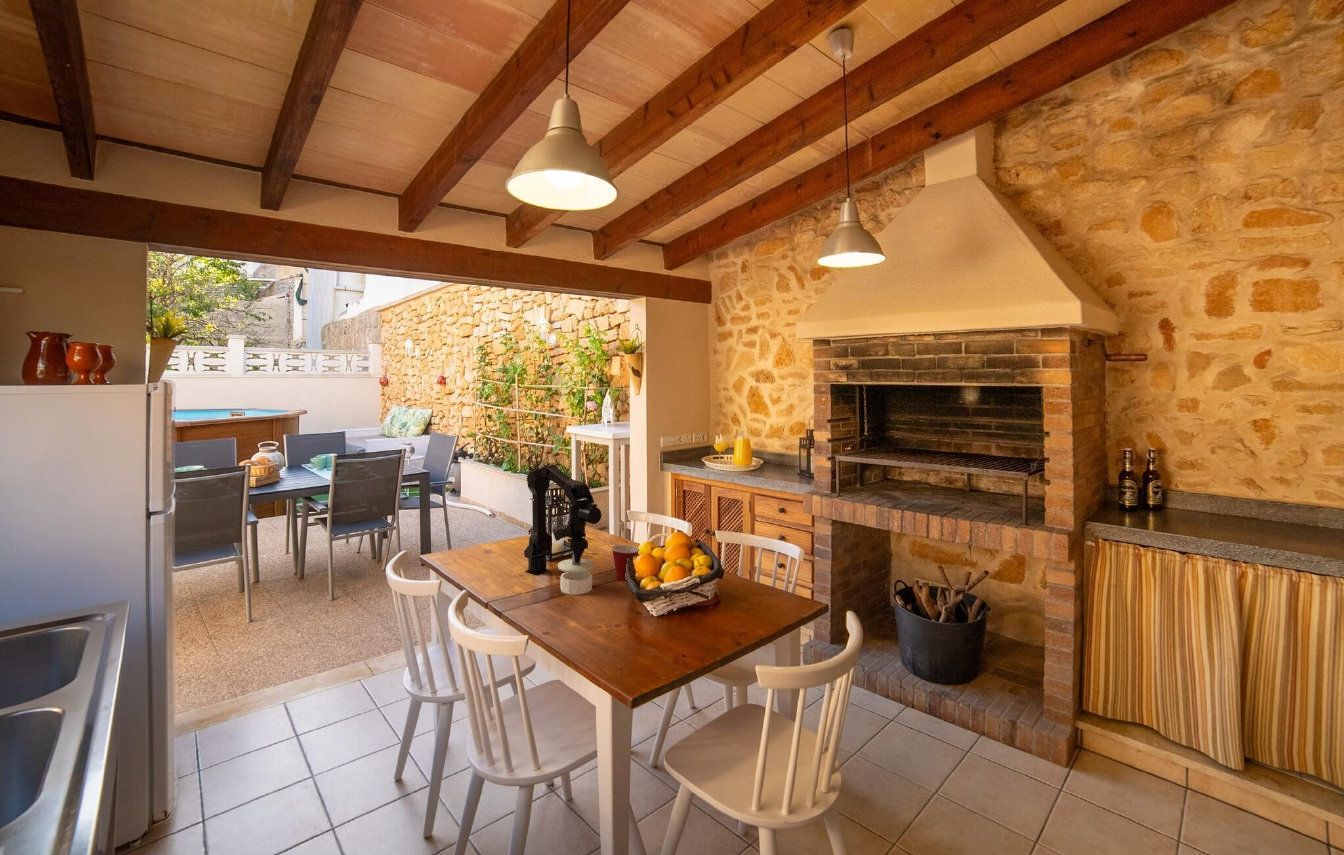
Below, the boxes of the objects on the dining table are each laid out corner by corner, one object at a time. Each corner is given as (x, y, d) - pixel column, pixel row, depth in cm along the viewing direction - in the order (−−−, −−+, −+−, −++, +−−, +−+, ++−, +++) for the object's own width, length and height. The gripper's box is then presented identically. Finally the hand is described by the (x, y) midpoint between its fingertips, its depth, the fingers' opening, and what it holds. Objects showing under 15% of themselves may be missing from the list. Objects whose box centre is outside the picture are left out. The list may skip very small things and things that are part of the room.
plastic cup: (644, 579, 227) (645, 548, 226) (621, 585, 219) (622, 553, 218) (627, 571, 235) (628, 541, 234) (604, 577, 227) (605, 546, 226)
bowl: (554, 590, 212) (554, 576, 211) (574, 582, 221) (574, 568, 221) (578, 597, 206) (578, 583, 206) (597, 588, 215) (598, 574, 215)
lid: (550, 568, 211) (550, 555, 210) (574, 559, 222) (574, 547, 221) (578, 575, 204) (578, 562, 204) (601, 565, 215) (602, 553, 215)
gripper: (553, 513, 219) (552, 554, 220) (555, 525, 201) (554, 570, 202) (583, 512, 221) (582, 553, 223) (588, 524, 203) (587, 569, 205)
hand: (576, 561), depth 213 cm, fingers closed on lid, 3 cm apart
